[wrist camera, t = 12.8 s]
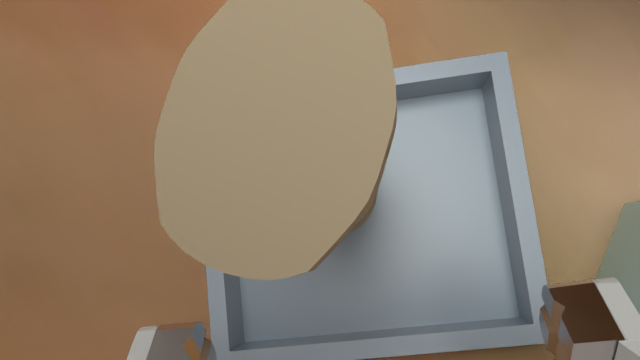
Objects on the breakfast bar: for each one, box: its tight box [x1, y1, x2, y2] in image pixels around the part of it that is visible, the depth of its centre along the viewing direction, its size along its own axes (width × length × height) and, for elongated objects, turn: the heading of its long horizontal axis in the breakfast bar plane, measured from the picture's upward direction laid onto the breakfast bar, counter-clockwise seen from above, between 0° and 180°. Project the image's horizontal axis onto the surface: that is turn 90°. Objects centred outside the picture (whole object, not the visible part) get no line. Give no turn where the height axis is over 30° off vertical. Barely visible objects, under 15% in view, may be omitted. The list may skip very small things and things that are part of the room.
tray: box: [206, 51, 547, 360], centre depth 24 cm, size 15×13×3 cm
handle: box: [154, 0, 397, 280], centre depth 18 cm, size 5×6×15 cm
